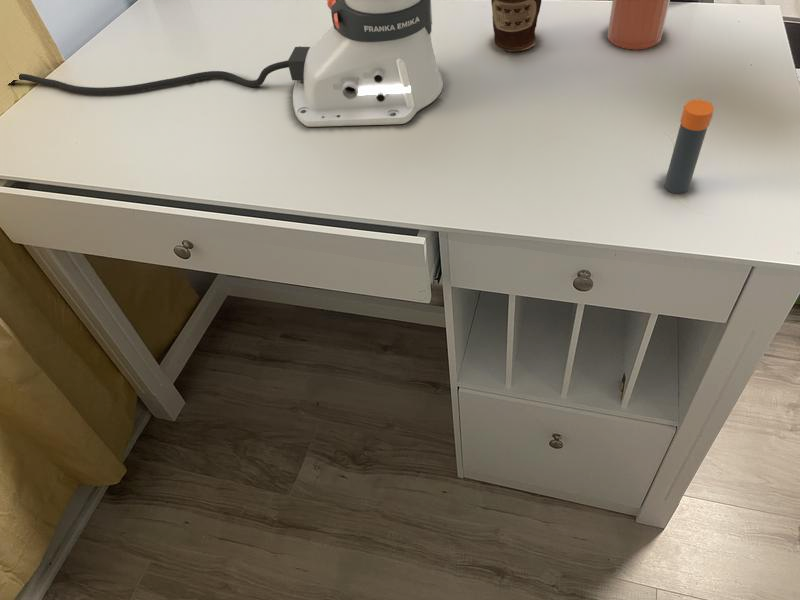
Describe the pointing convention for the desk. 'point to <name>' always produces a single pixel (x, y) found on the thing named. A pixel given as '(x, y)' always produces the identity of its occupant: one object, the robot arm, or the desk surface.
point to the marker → (688, 145)
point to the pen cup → (637, 23)
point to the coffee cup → (515, 23)
